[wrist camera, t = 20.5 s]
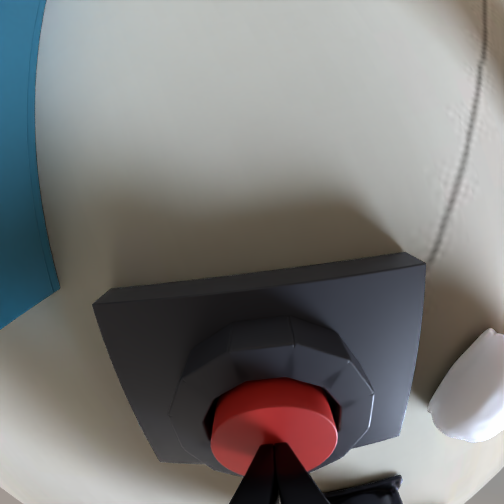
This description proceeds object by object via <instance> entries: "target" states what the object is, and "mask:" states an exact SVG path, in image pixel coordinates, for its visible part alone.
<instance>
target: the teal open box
mask: <svg viewBox="0 0 504 504" xmlns="http://www.w3.org/2000/svg"><path fill="white" fill-rule="evenodd" d="M45 4H46V0H0V330H1V329H2V328H3V327H5V326H6V325H8V324H9V323H10V322H12V321H13V320H15V319H16V318H18V317H19V316H20V315H22V314H23V313H25V312H26V311H28V310H29V309H30V308H32V307H33V306H35V305H36V304H38V303H39V302H41V301H42V300H44V299H45V298H47V297H48V296H50V295H51V294H53V293H54V292H56V291H57V290H59V289H60V285H59V282H58V278H57V274H56V270H55V267H54V263H53V258H52V254H51V250H50V245H49V241H48V236H47V231H46V226H45V220H44V214H43V208H42V202H41V195H40V187H39V179H38V169H37V158H36V143H35V81H36V66H37V55H38V46H39V38H40V32H41V25H42V19H43V14H44V9H45Z"/></svg>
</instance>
